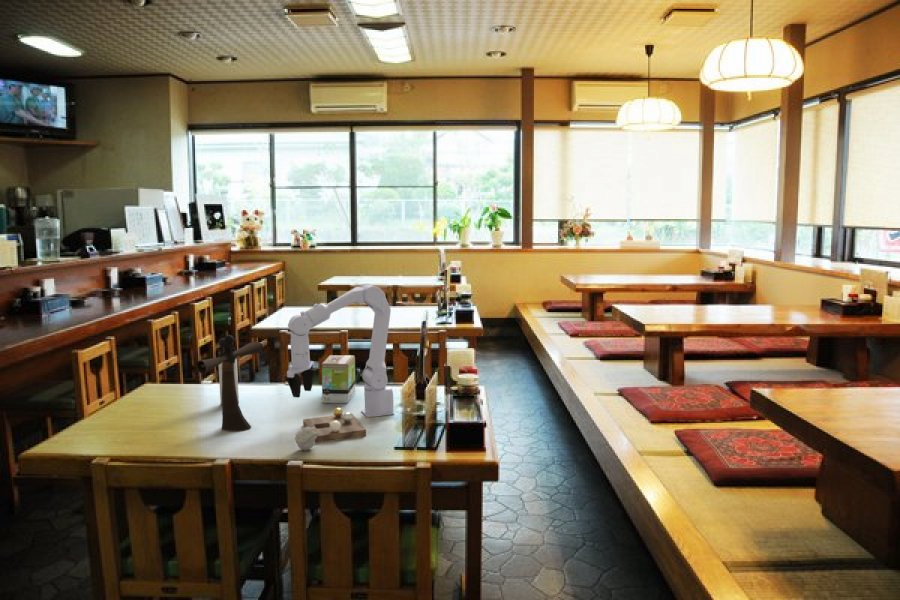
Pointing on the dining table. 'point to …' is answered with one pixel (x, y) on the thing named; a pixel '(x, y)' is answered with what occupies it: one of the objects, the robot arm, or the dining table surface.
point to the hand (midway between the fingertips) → (302, 393)
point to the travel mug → (234, 376)
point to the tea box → (338, 379)
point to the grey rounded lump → (306, 438)
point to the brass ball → (337, 412)
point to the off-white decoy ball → (335, 426)
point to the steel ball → (347, 417)
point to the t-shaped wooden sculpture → (230, 381)
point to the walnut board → (327, 434)
